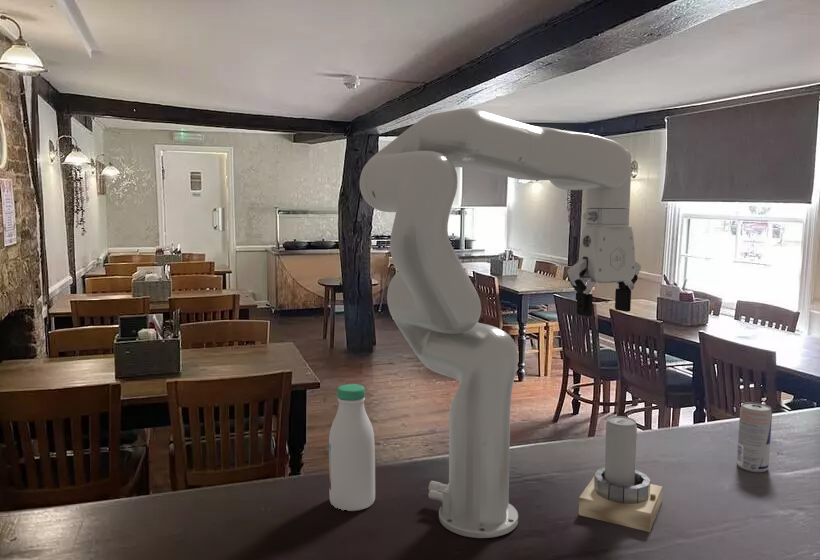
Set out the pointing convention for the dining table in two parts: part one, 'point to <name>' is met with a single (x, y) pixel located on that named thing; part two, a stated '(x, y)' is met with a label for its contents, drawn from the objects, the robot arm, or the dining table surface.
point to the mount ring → (623, 488)
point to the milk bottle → (351, 452)
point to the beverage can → (620, 450)
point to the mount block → (621, 508)
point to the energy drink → (754, 437)
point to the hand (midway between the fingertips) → (603, 312)
